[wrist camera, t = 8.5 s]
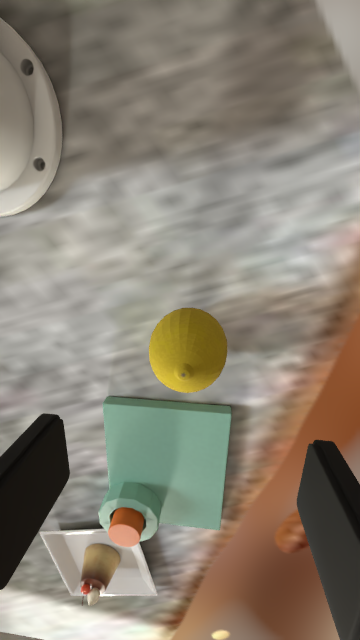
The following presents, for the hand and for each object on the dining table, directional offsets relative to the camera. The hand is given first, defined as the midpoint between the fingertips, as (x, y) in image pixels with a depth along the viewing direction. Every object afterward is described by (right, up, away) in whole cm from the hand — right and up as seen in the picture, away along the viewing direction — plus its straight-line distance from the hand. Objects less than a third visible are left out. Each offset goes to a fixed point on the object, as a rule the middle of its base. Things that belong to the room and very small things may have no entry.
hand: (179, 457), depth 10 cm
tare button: (-5, -15, +17) cm, 23 cm away
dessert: (-10, -24, +23) cm, 35 cm away
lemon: (+1, +4, +13) cm, 14 cm away
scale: (-1, -10, +18) cm, 20 cm away
